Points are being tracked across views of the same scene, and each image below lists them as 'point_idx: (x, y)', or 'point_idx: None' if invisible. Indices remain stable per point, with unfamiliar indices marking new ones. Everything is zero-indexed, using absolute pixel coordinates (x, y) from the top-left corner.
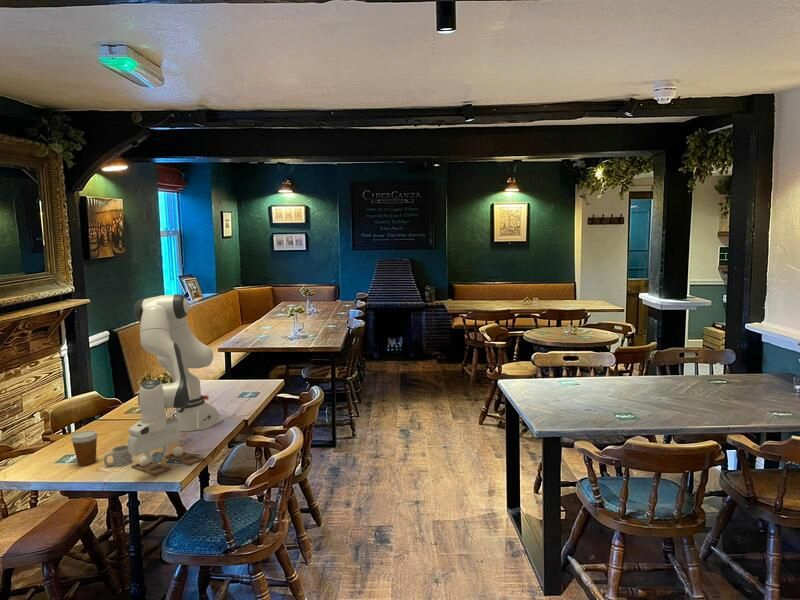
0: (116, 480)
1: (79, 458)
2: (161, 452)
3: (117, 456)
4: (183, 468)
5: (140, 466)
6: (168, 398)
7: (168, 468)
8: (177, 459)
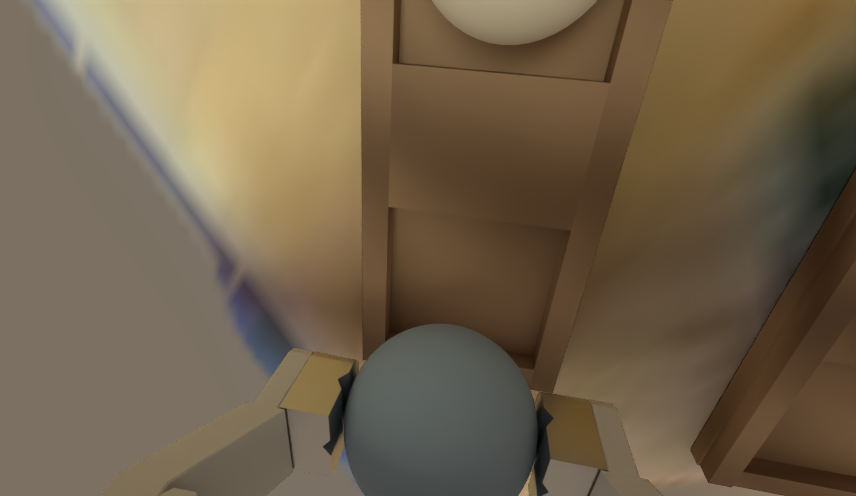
0: None
1: None
2: (557, 485)
3: None
4: (643, 413)
5: None
6: None
7: (526, 374)
8: (842, 289)
